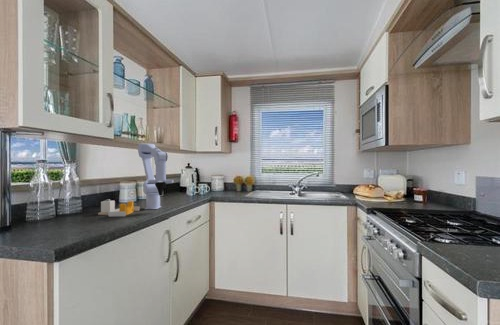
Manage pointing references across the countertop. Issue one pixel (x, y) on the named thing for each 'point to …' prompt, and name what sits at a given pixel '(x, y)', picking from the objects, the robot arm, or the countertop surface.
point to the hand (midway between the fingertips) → (160, 195)
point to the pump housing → (107, 207)
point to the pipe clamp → (129, 207)
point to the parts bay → (121, 212)
